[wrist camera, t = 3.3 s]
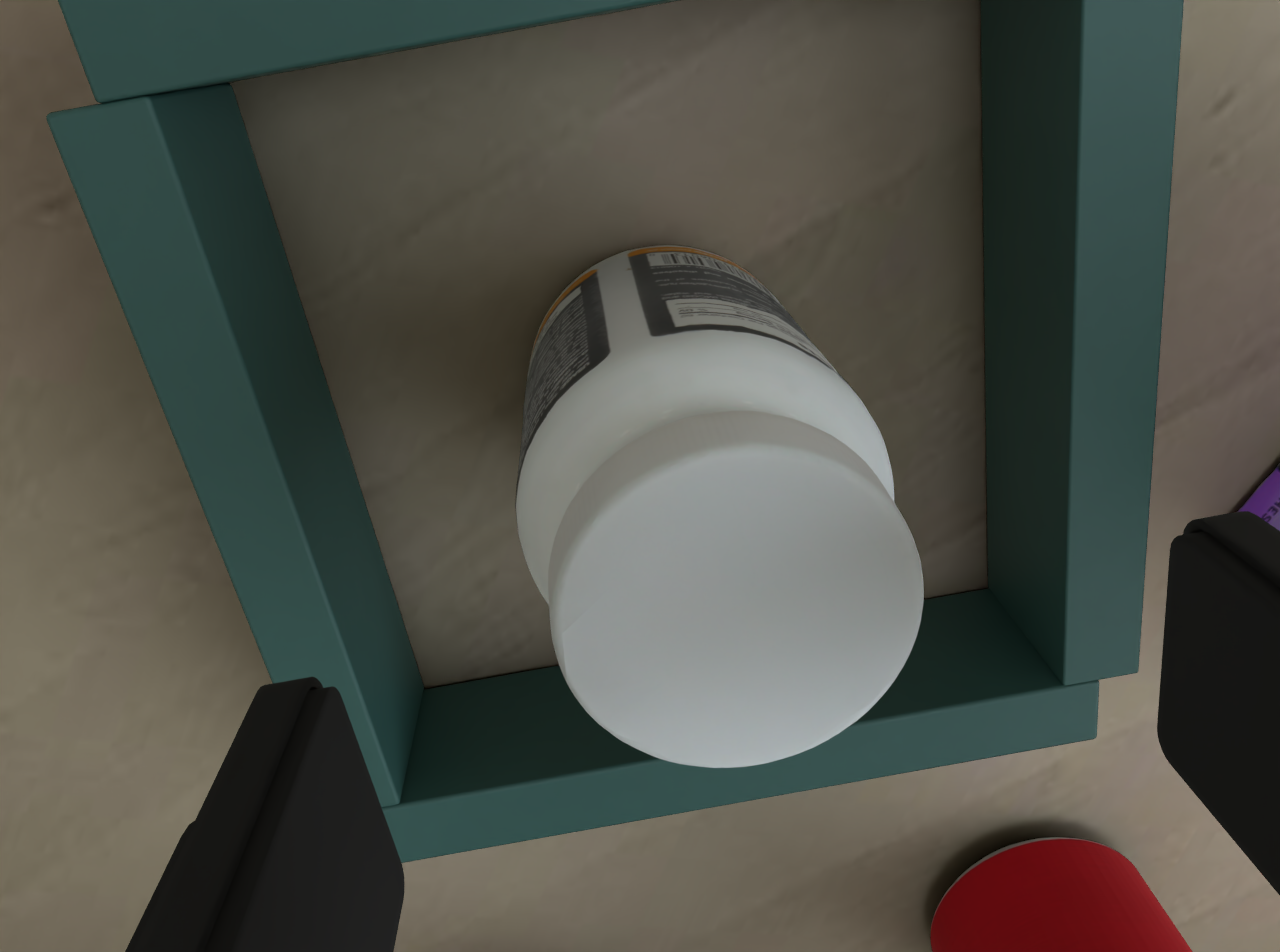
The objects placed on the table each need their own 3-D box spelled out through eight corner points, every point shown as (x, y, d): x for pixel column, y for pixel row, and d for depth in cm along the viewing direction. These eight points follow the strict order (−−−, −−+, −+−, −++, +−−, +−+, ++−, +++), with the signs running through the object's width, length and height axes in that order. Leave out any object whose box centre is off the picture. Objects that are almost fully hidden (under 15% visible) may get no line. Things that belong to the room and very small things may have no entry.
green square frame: (379, 749, 25) (347, 874, 21) (112, 1, 17) (-7, -6, 14) (1050, 629, 24) (1135, 733, 21) (1065, -172, 17) (1201, -226, 14)
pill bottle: (622, 533, 22) (661, 869, 13) (474, 331, 20) (405, 572, 11) (838, 406, 22) (1038, 675, 13) (709, 180, 19) (839, 309, 10)
